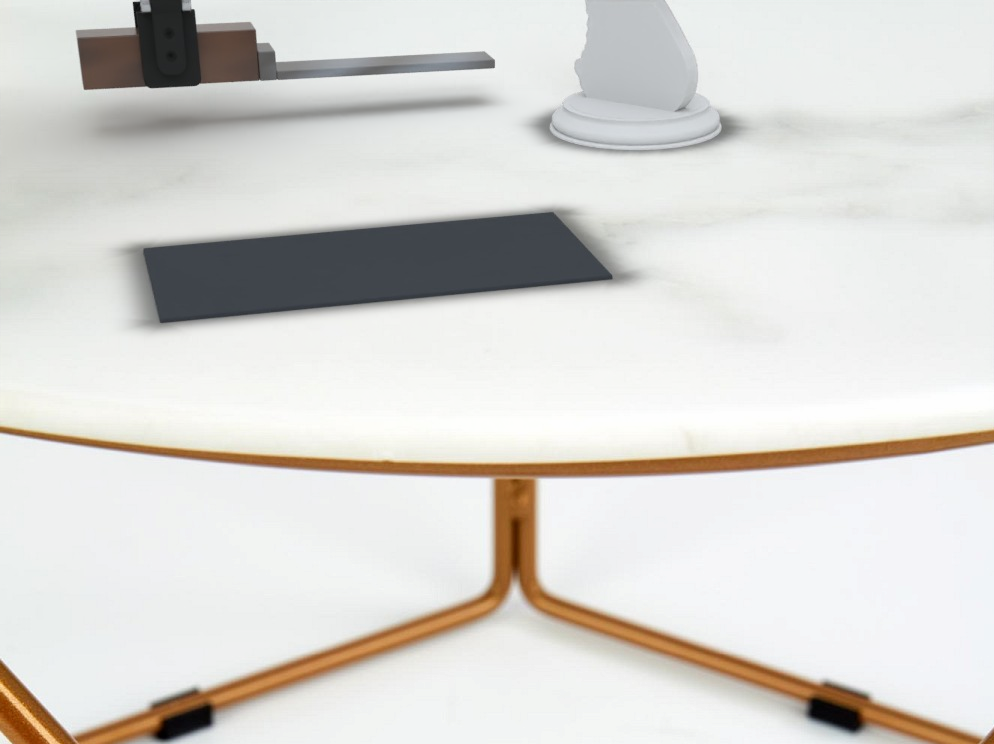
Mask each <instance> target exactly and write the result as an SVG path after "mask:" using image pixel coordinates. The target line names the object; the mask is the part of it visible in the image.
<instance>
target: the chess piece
mask: <svg viewBox="0 0 994 744" xmlns="http://www.w3.org/2000/svg"><path fill="white" fill-rule="evenodd" d="M584 3H585V13H586V15H587V20H586V33H585V38H586V42H585V44H584V48H583V50H582V51H581V53H580V58H577V59H575V60H574V63H573V64H574V65H573V66H574V67H573V69H574V72H575V74H576V76H577V78H578V81H579V86H580V89H581V91H578V92H575V93H573V94H570V95H568V96H566V97H565V98H564V100H563V101H562V105H560V107H558V108H557V109H556V110H555V111H554V112H553V113H552V115H551V122H550V124H549V131H550V132H551V134H552V135H553V136H555V137H556V138H558V139H560V140H563V141H565V142H568V143H571V144H574V145H575V144H576V145H579V146H584V147H590V148H597V149H606V150H619V151H652V150H654V151H655V150H665V149H675V148H681V147H688V146H692V145H697V144H700V143H704V142H707V141H709V140H712V139H714V138H715V137H716V136H718V135H720V133H721V131H722V127H723V126H722V123H721V121H720V120H721V118H720V117H721V116H720V114H719V112H718V111H717V109H715V108H714V107H713V106H711V105H710V104H711V103H710V100H709V99H708V98H707V97H706V96H704V95H702V94H699V93H697V88H698V83H699V67H698V62H697V58H696V56H695V55H696V54H695V52H694V50H693V48H692V46H691V44H690V41H689V40H688V38H687V36H686V35H685V33H684V30H683V29H682V27H681V25H680V23H679V21H678V20H677V18H676V16H675V14H674V12H673V10H672V9H671V8H670V6H669V4H668V3H667V1H666V0H584Z"/></svg>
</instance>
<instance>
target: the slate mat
mask: <svg viewBox="0 0 994 744" xmlns="http://www.w3.org/2000/svg"><path fill="white" fill-rule="evenodd" d="M143 255H144V260H145V264H146V268H147V272H148V277H149V280H150V285H151V289H152V294H153V297H154V302H155V305H156V310H157V315H158V318H159V323H161V324H167V323H175V322H187V321H197V320H198V321H199V320H206V319H207V320H208V319H217V318H227V317H228V318H229V317H238V316H247V315H258V314H271V313H279V312H289V311H290V312H291V311H301V310H310V309H320V308H331V307H341V306H352V305H362V304H372V303H373V304H374V303H384V302H393V301H402V300H411V299H412V300H413V299H424V298H434V297H435V298H436V297H444V296H445V297H446V296H453V295H454V296H455V295H464V294H465V295H467V294H475V293H487V292H495V291H506V290H515V289H526V288H527V289H528V288H536V287H546V286H557V285H567V284H568V285H569V284H579V283H587V282H597V281H607V280H608V281H609V280H613V274H612V273H611V272H610V271H609V270H608V269H607V268H606V267H605V265H603V263H601V261H600V260H599V259H598V258H597V257H596V256H595V255H594V254H593V253H592V252H591V251H590V250H589V249H588V248H587V246H586V245H584V243H583V242H582V241H581V240H580V239H579V238H578V237H577V235H575V234H574V233H573V232H572V230H570V228H569V227H568V226H567V225H566V224H565V223H564V222H563V221H562V220H561V218H560V217H558V216H557V214H556V213H555V212H554V211H549V212H547V211H546V212H538V213H537V212H535V213H526V214H525V213H524V214H514V215H504V216H492V217H482V218H481V217H480V218H479V217H478V218H470V219H457V220H447V221H434V222H424V223H412V224H402V225H390V226H389V225H388V226H379V227H378V226H377V227H368V228H367V227H366V228H357V229H356V228H355V229H344V230H334V231H323V232H312V233H300V234H290V235H278V236H277V235H276V236H269V237H268V236H267V237H265V236H264V237H255V238H245V239H233V240H220V241H210V242H198V243H187V244H178V245H177V244H176V245H164V246H154V247H144V248H143Z"/></svg>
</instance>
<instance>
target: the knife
mask: <svg viewBox="0 0 994 744" xmlns="http://www.w3.org/2000/svg"><path fill="white" fill-rule="evenodd" d="M196 28H197V39H198V50H199V61H200V71H201V82H200V84H199V85H204V84H205V85H206V84H222V83H223V84H224V83H243V82H258V81H261V82H267V81H284V80H285V81H287V80H288V81H289V80H303V79H304V80H305V79H323V78H341V77H359V76H360V77H362V76H377V75H378V76H381V75H395V74H396V75H397V74H415V73H433V72H434V73H435V72H451V71H470V70H471V71H472V70H490V69H491V70H492V69H495V68H496V60H495V59H494V58H493V57H492V56H491V55H490V54H489V53H488V52H486V51H485V50H483V51H482V50H481V51H480V50H479V51H465V52H464V51H462V52H442V53H426V54H423V53H421V54H406V55H387V56H386V55H385V56H384V55H383V56H368V57H367V56H366V57H365V56H364V57H349V58H347V57H346V58H329V59H311V60H310V59H308V60H307V59H306V60H289V61H288V60H287V61H277V59H276V56H277V55H276V51H275V50H274V48H273V47H272V45H271V43H270V42H258V41H257V40H258V39H257V28H255V26H254V25H253V23H252V22H251V21H240V22H239V21H238V22H237V21H236V22H219V23H218V22H217V23H215V22H214V23H196ZM75 37H76V45H77V52H78V53H77V54H78V60H79V61H78V62H79V69H80V75H81V82H82V88H83V90H84V91H92V90H93V91H94V90H112V89H130V88H131V89H132V88H148V87H147V86H146V85H145V82H144V77H143V68H142V59H141V50H140V41H139V32H138V27H135V26H134V27H130V26H129V27H111V28H110V27H109V28H91V29H90V28H89V29H88V28H87V29H76V30H75Z"/></svg>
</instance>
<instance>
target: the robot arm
mask: <svg viewBox="0 0 994 744" xmlns="http://www.w3.org/2000/svg"><path fill="white" fill-rule="evenodd" d="M132 9H133V20H134V27H138V32H139V41H140V50H141V59H142V68H143V77H144V82H145V85H146V86H147V87H146V88H149V89H167V88H168V89H169V88H185V87H186V88H188V87H197V86H199V85H201V84H200V82H201V71H200V61H199V50H198V39H197V28H196V24H197V18H196V9H194V8H192V0H136V1H132Z"/></svg>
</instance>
